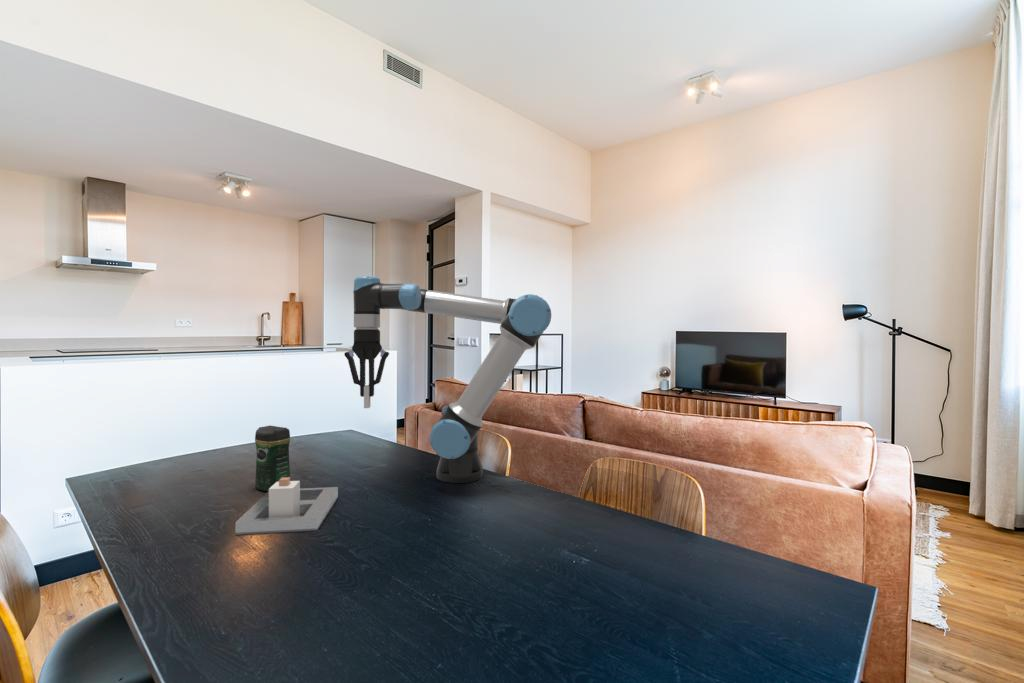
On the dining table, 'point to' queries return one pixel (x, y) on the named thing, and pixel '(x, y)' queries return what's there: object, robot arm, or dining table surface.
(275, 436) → the coffee jar
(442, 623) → the dining table surface
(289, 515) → the white rectangular block
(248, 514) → the socket plate
